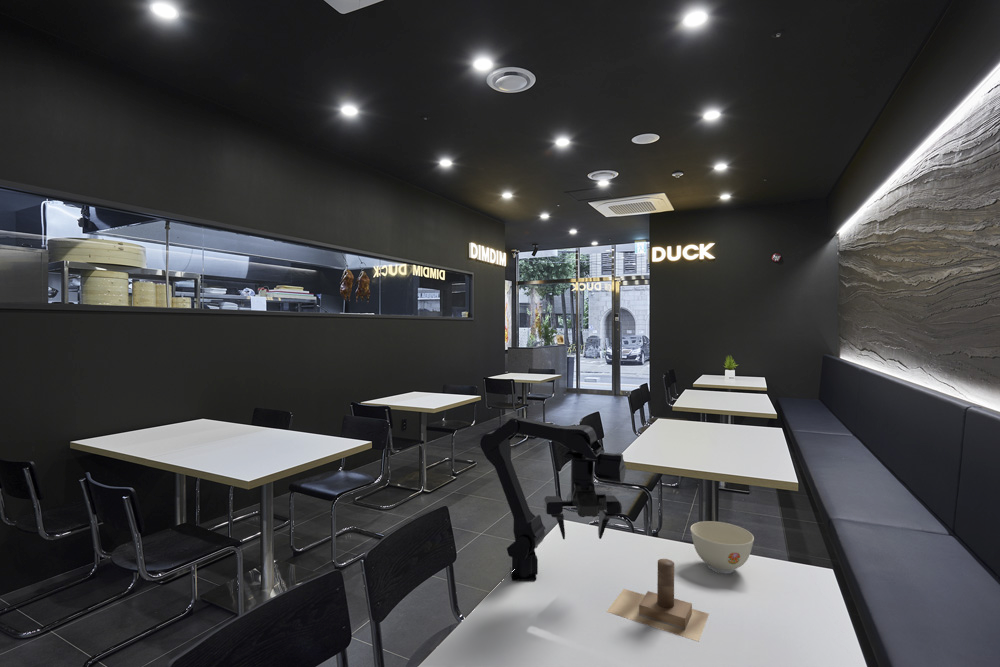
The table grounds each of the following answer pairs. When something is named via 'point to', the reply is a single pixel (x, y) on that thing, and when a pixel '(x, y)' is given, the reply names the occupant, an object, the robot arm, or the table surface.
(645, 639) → the table surface
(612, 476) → the robot arm
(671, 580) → the block
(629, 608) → the oak board
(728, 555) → the bowl
